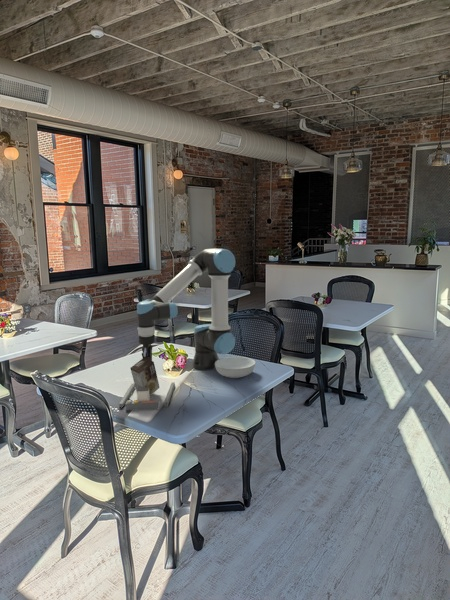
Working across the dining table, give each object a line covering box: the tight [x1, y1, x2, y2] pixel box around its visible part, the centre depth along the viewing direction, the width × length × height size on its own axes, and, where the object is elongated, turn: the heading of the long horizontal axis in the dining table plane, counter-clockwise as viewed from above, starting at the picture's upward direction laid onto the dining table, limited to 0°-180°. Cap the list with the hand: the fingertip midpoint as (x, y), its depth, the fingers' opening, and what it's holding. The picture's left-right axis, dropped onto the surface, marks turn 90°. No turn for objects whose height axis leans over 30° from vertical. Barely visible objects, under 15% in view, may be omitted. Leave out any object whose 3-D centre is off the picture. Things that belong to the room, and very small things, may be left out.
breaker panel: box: [118, 382, 176, 411], centre depth 201 cm, size 21×26×4 cm
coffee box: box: [130, 357, 160, 397], centre depth 200 cm, size 9×6×16 cm
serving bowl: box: [215, 356, 256, 379], centre depth 226 cm, size 21×21×7 cm
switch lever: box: [136, 387, 151, 402], centre depth 192 cm, size 5×4×8 cm
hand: (148, 382), depth 209 cm, fingers closed
